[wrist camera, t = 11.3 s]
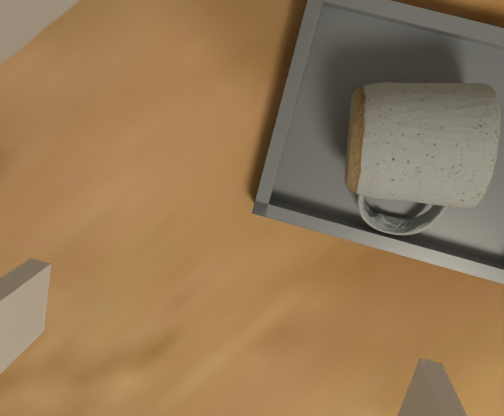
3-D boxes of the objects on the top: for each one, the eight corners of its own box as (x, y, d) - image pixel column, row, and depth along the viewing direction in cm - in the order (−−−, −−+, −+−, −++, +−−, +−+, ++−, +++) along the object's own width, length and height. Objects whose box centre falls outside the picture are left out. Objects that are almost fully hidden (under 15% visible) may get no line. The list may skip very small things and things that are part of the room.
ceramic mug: (347, 80, 33) (355, 83, 25) (471, 81, 32) (516, 85, 24) (338, 225, 36) (342, 265, 28) (450, 230, 35) (485, 274, 27)
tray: (255, 205, 37) (252, 213, 35) (312, -13, 32) (312, -20, 30) (511, 276, 35) (523, 289, 33) (608, 60, 31) (630, 59, 29)
